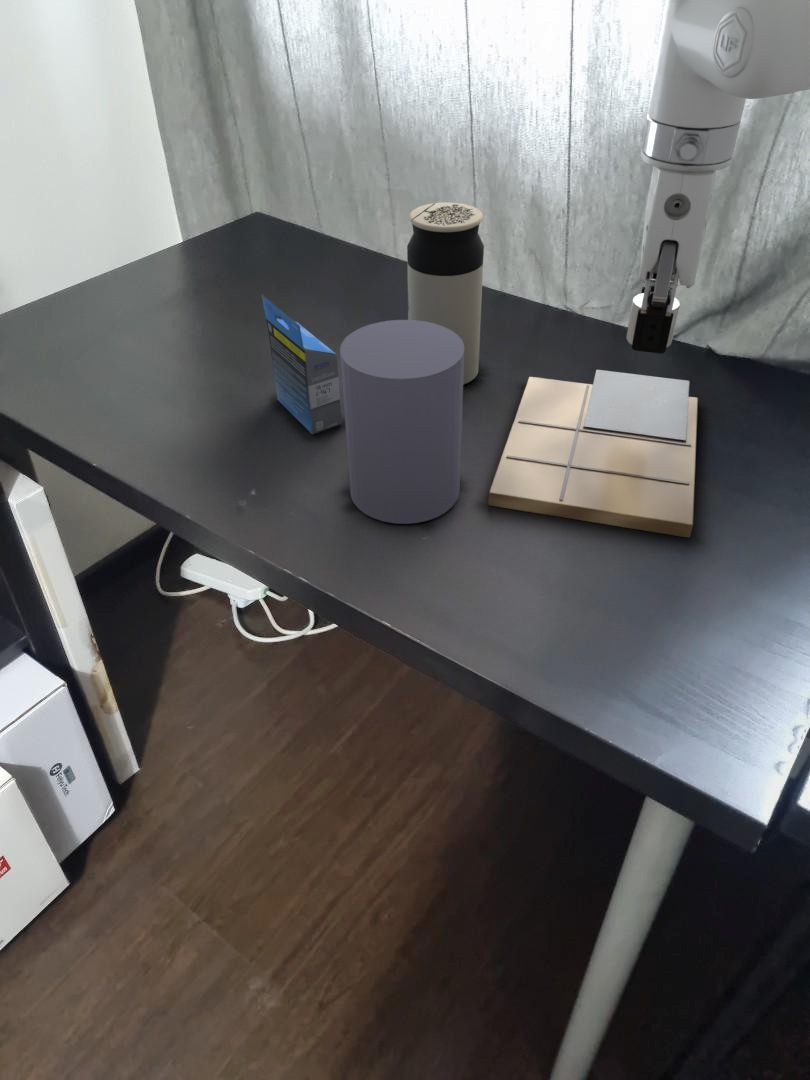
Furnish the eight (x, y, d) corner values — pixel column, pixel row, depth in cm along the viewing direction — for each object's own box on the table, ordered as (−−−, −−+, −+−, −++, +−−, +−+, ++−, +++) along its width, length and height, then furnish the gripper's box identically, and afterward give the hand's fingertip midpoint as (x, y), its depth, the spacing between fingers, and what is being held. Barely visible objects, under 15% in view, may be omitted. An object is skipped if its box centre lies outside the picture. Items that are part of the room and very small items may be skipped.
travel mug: (491, 368, 96) (500, 210, 84) (453, 397, 91) (457, 234, 79) (434, 349, 100) (435, 196, 88) (395, 377, 95) (391, 218, 83)
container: (474, 473, 80) (481, 330, 70) (436, 537, 73) (438, 388, 63) (376, 451, 83) (370, 312, 74) (331, 511, 76) (318, 365, 66)
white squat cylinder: (672, 332, 83) (680, 294, 80) (670, 352, 80) (679, 314, 77) (628, 327, 84) (634, 289, 81) (624, 347, 81) (631, 308, 78)
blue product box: (344, 425, 87) (336, 316, 79) (311, 436, 86) (299, 326, 78) (306, 389, 93) (294, 284, 85) (274, 399, 91) (259, 293, 83)
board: (695, 395, 91) (699, 382, 89) (689, 538, 72) (693, 523, 71) (532, 375, 95) (533, 361, 93) (487, 505, 76) (488, 490, 75)
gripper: (736, 175, 63) (686, 385, 75) (734, 117, 75) (691, 306, 87) (636, 167, 65) (602, 375, 77) (649, 112, 77) (619, 298, 89)
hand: (650, 336), depth 82 cm, fingers closed on white squat cylinder, 4 cm apart
